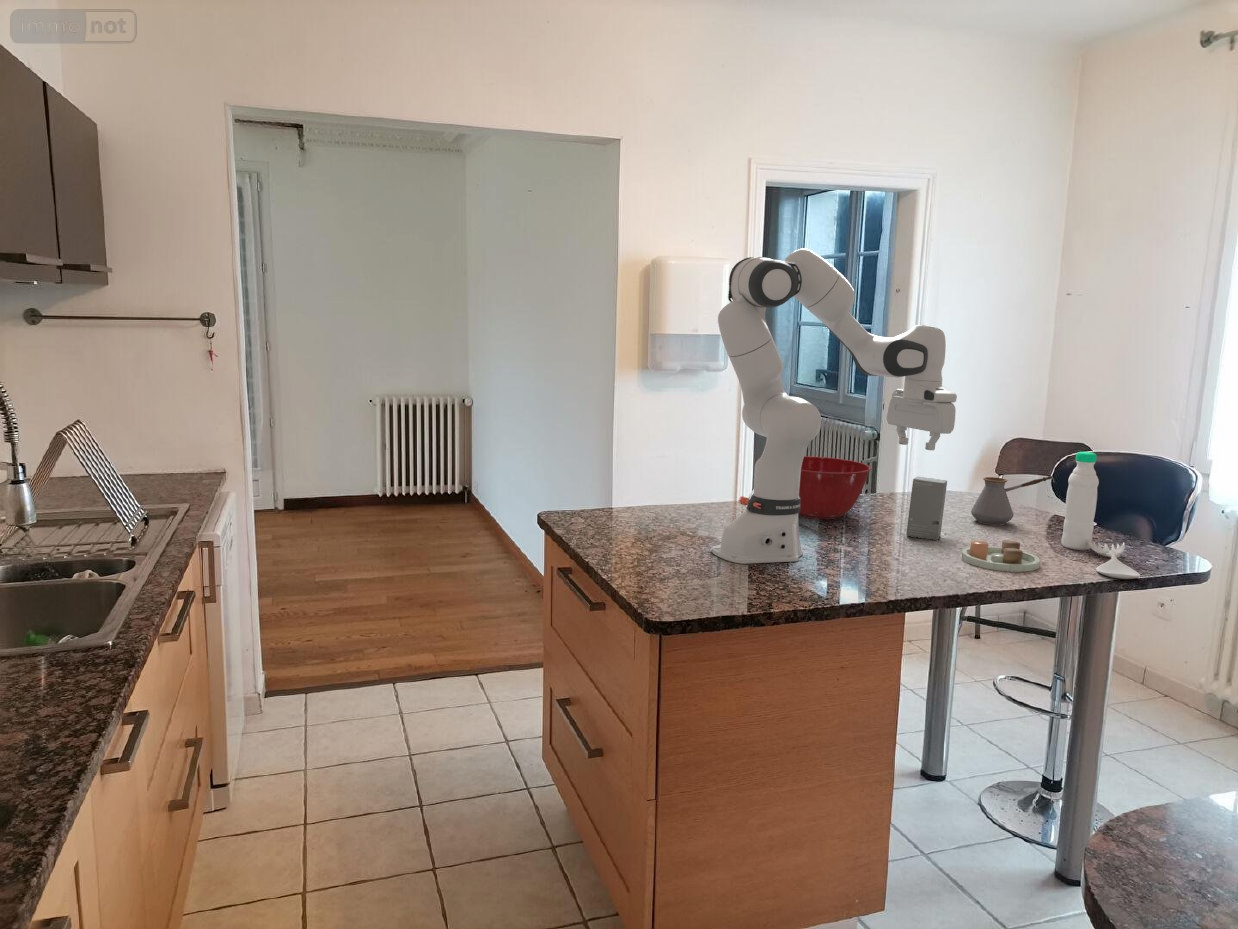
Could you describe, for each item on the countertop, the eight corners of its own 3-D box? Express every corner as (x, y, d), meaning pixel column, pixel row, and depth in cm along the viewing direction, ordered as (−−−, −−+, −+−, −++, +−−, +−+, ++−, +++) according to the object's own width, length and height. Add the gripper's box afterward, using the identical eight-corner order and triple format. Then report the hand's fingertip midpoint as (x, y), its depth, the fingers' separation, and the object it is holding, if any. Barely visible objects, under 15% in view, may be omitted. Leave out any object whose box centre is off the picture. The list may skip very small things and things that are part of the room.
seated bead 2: (1012, 570, 209) (1014, 553, 209) (998, 565, 213) (1000, 549, 212) (1024, 568, 211) (1026, 551, 210) (1010, 563, 215) (1012, 547, 214)
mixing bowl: (861, 507, 280) (864, 457, 278) (873, 528, 252) (877, 473, 250) (768, 502, 284) (771, 453, 281) (770, 522, 256) (773, 468, 254)
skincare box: (905, 536, 243) (910, 478, 240) (910, 531, 249) (915, 475, 247) (938, 541, 239) (943, 482, 237) (942, 535, 245) (947, 478, 243)
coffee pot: (970, 524, 260) (975, 473, 257) (969, 516, 270) (973, 467, 268) (1052, 532, 253) (1058, 479, 250) (1047, 523, 264) (1052, 472, 261)
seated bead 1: (1010, 561, 217) (1011, 545, 216) (997, 557, 220) (998, 541, 220) (1022, 559, 219) (1023, 543, 218) (1008, 555, 222) (1010, 539, 221)
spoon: (1124, 554, 230) (1125, 541, 230) (1143, 587, 201) (1145, 572, 200) (1084, 549, 234) (1086, 536, 233) (1097, 582, 204) (1099, 567, 204)
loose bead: (978, 561, 216) (979, 545, 215) (965, 557, 219) (967, 541, 218) (990, 560, 217) (992, 544, 217) (977, 556, 221) (979, 540, 220)
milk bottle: (1087, 545, 239) (1098, 451, 235) (1094, 551, 232) (1105, 455, 228) (1058, 542, 241) (1068, 449, 236) (1063, 549, 234) (1074, 453, 230)
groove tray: (1001, 578, 206) (1002, 568, 205) (946, 559, 221) (946, 549, 220) (1054, 571, 213) (1055, 561, 212) (997, 553, 228) (997, 543, 227)
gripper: (883, 387, 232) (878, 441, 234) (942, 395, 213) (935, 453, 215) (903, 388, 234) (897, 441, 236) (962, 395, 216) (955, 453, 218)
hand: (916, 447), depth 226 cm, fingers open, 8 cm apart
